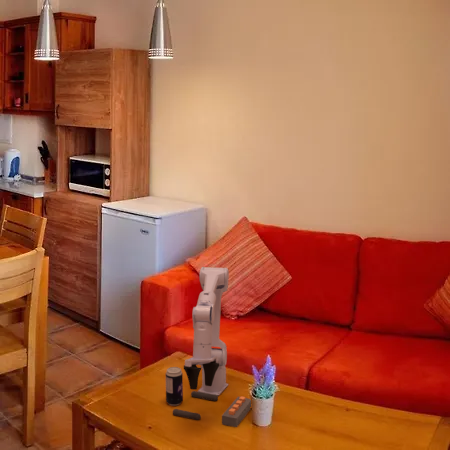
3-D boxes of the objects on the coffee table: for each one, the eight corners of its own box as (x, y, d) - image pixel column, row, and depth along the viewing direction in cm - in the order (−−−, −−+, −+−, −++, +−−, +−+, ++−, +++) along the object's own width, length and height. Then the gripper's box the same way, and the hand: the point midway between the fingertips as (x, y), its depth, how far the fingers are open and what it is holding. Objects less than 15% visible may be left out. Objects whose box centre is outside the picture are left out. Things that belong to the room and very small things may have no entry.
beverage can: (180, 407, 206) (179, 374, 204) (164, 406, 208) (163, 372, 205) (184, 399, 212) (184, 367, 210) (168, 398, 213) (168, 365, 211)
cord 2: (192, 394, 216) (192, 389, 215) (218, 400, 212) (218, 394, 212) (190, 397, 214) (190, 392, 214) (216, 402, 210) (216, 397, 210)
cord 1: (174, 413, 203) (174, 407, 203) (201, 418, 199) (201, 413, 199) (171, 415, 201) (171, 410, 201) (199, 421, 198) (199, 415, 197)
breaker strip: (237, 404, 208) (238, 393, 208) (251, 407, 206) (251, 395, 206) (221, 424, 196) (221, 412, 195) (236, 427, 194) (236, 415, 193)
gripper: (198, 346, 185) (196, 392, 185) (226, 343, 197) (224, 386, 196) (180, 344, 190) (178, 389, 189) (208, 340, 201) (207, 383, 200)
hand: (201, 387), depth 193 cm, fingers open, 7 cm apart
